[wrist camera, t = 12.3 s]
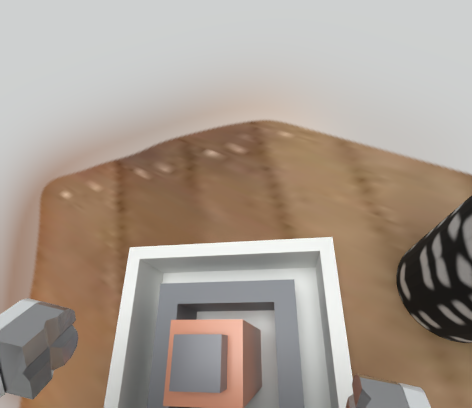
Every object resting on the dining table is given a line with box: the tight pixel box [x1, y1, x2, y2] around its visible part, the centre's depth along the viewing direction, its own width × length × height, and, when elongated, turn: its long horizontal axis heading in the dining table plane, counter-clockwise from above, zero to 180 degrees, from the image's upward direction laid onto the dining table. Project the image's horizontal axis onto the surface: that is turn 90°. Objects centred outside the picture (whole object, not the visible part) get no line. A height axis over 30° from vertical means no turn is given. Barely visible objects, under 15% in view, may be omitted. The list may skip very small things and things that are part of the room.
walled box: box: [104, 237, 353, 408], centre depth 23 cm, size 16×16×6 cm
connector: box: [163, 319, 262, 408], centre depth 19 cm, size 4×4×12 cm
